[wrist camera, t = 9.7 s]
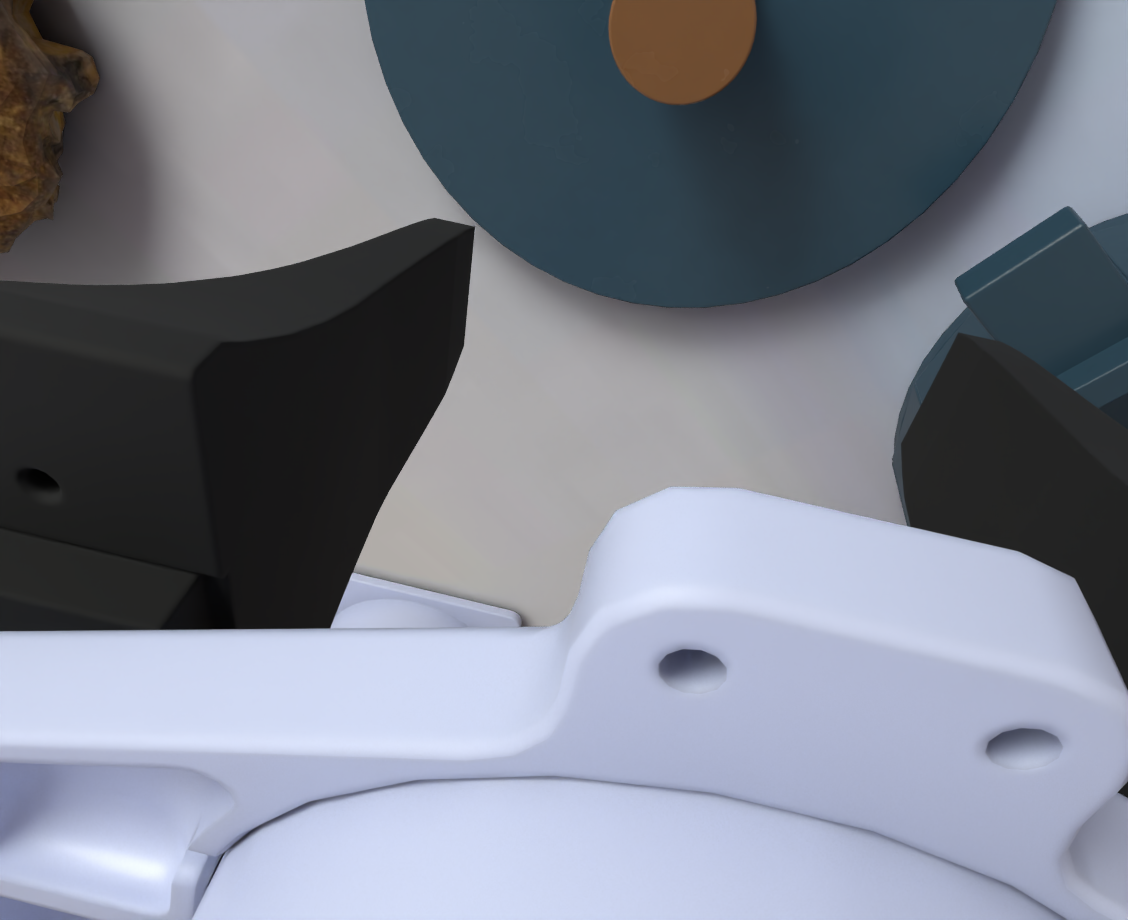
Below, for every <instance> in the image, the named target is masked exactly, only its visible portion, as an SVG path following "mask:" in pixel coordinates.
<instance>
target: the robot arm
mask: <svg viewBox="0 0 1128 920" xmlns="http://www.w3.org/2000/svg"><path fill="white" fill-rule="evenodd" d="M474 230H475V227H473V226H469V225H464V224H460V223H455V222H451V221H446V220H441V219H437V218H433V219H427V220H423V221H420V222H417V223H414V224H411V225H408V226H406V227H403V228H400V229H397V230H395V231H392V232H390V233H387V234H384V235H381V236H379V237H376V238H373V239H371V240H368V241H365V242H363V243H360V244H357V245H354V246H352V247H348V248H345V249H342V250H339V251H336V252H332V253H329V254H326V255H323V256H320V257H316V258H313V259H310V260H307V261H304V262H300V263H296V264H292V265H288V266H284V267H280V268H275V269H271V270H265V271H260V272H255V273H250V274H245V275H239V276H232V277H224V278H214V279H205V280H196V281H187V282H178V283H165V284H143V285H68V284H51V283H34V282H16V281H0V920H1128V429H1126V428H1125V427H1123V426H1122V425H1121V424H1119V423H1118V422H1116V421H1115V420H1114V419H1112V418H1111V417H1109V416H1108V415H1107V414H1105V413H1104V412H1103V411H1101V410H1100V409H1098V408H1097V407H1096V406H1094V405H1093V404H1092V403H1090V402H1089V401H1088V400H1086V399H1085V398H1084V397H1082V396H1081V395H1080V394H1078V393H1077V392H1076V391H1074V390H1073V389H1072V388H1070V387H1069V386H1068V385H1066V384H1065V383H1064V382H1062V381H1061V380H1059V379H1058V378H1057V377H1055V376H1054V375H1053V374H1051V373H1050V372H1049V371H1047V370H1046V369H1045V368H1043V367H1042V366H1040V365H1039V364H1038V363H1036V362H1035V361H1033V360H1032V359H1030V358H1029V357H1027V356H1026V355H1024V354H1023V353H1021V352H1019V351H1018V350H1016V349H1014V348H1013V347H1011V346H1009V345H1007V344H1005V343H1003V342H1000V341H996V340H991V339H987V338H982V337H978V336H973V335H968V334H964V333H959V332H958V334H957V336H956V338H955V340H954V342H953V344H952V346H951V348H950V350H949V352H948V353H947V355H946V357H945V359H944V361H943V363H942V365H941V367H940V369H939V371H938V373H937V375H936V377H935V379H934V381H933V383H932V384H931V386H930V388H929V390H928V392H927V394H926V396H925V398H924V400H923V402H922V404H921V406H920V408H919V410H918V412H917V414H916V415H915V417H914V419H913V421H912V423H911V425H910V427H909V429H908V431H907V433H906V435H905V437H904V439H903V441H902V443H901V460H902V479H903V491H904V500H905V504H906V509H907V513H908V517H909V522H910V526H911V527H908V526H904V525H899V524H895V523H891V522H886V521H882V520H877V519H873V518H869V517H864V516H860V515H855V514H851V513H846V512H842V511H838V510H833V509H829V508H824V507H820V506H816V505H811V504H807V503H802V502H798V501H794V500H789V499H785V498H780V497H776V496H771V495H767V494H763V493H758V492H754V491H749V490H745V489H741V488H717V487H669V488H666V489H664V490H662V491H659V492H657V493H655V494H653V495H650V496H648V497H646V498H643V499H641V500H639V501H637V502H634V503H632V504H630V505H627V506H625V507H623V508H621V509H618V510H616V511H615V513H614V514H613V516H612V517H611V519H610V520H609V522H608V523H607V525H606V526H605V528H604V529H603V531H602V532H601V534H600V535H599V537H598V538H597V540H596V541H595V542H594V544H593V545H592V547H591V548H590V550H589V554H588V558H587V562H586V566H585V570H584V574H583V578H582V582H581V586H580V590H579V595H578V597H577V599H576V601H575V604H574V606H573V608H572V610H571V612H570V614H569V615H568V616H567V617H566V618H565V619H564V620H563V621H562V622H561V623H558V624H555V625H553V626H550V627H521V623H522V620H521V617H520V616H519V615H518V614H517V613H516V612H514V611H511V610H507V609H503V608H499V607H495V606H491V605H487V604H482V603H478V602H474V601H470V600H466V599H461V598H457V597H453V596H449V595H445V594H440V593H436V592H432V591H428V590H424V589H420V588H415V587H411V586H407V585H403V584H399V583H394V582H390V581H386V580H382V579H378V578H373V577H369V576H365V575H361V574H357V573H353V570H354V568H355V565H356V563H357V560H358V558H359V556H360V553H361V551H362V549H363V546H364V544H365V542H366V539H367V537H368V534H369V532H370V530H371V527H372V525H373V523H374V520H375V518H376V516H377V513H378V512H379V510H380V508H381V506H382V504H383V502H384V500H385V498H386V496H387V494H388V492H389V490H390V489H391V487H392V485H393V483H394V482H395V480H396V478H397V477H398V475H399V473H400V471H401V470H402V468H403V466H404V465H405V463H406V461H407V460H408V458H409V456H410V454H411V453H412V451H413V449H414V448H415V446H416V444H417V442H418V441H419V439H420V437H421V436H422V434H423V432H424V430H425V429H426V427H427V425H428V424H429V422H430V420H431V418H432V417H433V415H434V413H435V411H436V410H437V408H438V406H439V404H440V403H441V401H442V399H443V397H444V395H445V393H446V391H447V388H448V386H449V383H450V381H451V378H452V376H453V373H454V371H455V368H456V365H457V363H458V360H459V357H460V355H461V352H462V349H463V347H464V338H465V327H466V316H467V306H468V295H469V284H470V273H471V263H472V252H473V241H474Z"/></svg>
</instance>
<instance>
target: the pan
mask: <svg viewBox="0 0 1128 920" xmlns="http://www.w3.org/2000/svg"><path fill="white" fill-rule="evenodd" d="M955 285H956V287H957V289H958V291H959V293H960V295H961V297H962V299H963V302H964V303H965V304H966V305H967V308H966V309H965V310H964V311H963V312H962V313H961V314H960V316H959V317H958V318H957V319H956V320H955V321H954V322H953V323H952V324H951V325H950V326H949V328H948V329H947V330H946V331H945V332H944V333H943V334H942V335H941V337H940V338H939V340H938V341H937V342H936V344H935V345H934V347H933V348H932V349H931V351H930V352H929V354H928V355H927V356H926V358H925V359H924V361H923V362H922V364H921V366H920V368H919V370H918V372H917V374H916V375H915V377H914V379H913V381H912V383H911V385H910V387H909V389H908V392H907V394H906V397H905V400H904V403H903V405H902V408H901V411H900V414H899V419H898V424H897V429H896V434H895V443H894V455H893V458H892V460H893V462H892V466H893V470H894V474H895V478H896V482H897V486H898V490H899V494H900V499H901V503H902V507H903V511H904V515H905V519H906V523H907V526H908V527H911V526H910V522H909V517H908V513H907V509H906V504H905V500H904V491H903V479H902V460H901V443H902V441H903V439H904V437H905V435H906V433H907V431H908V429H909V427H910V425H911V423H912V421H913V419H914V417H915V415H916V414H917V412H918V410H919V408H920V406H921V404H922V402H923V400H924V398H925V396H926V394H927V392H928V390H929V388H930V386H931V384H932V383H933V381H934V379H935V377H936V375H937V373H938V371H939V369H940V367H941V365H942V363H943V361H944V359H945V357H946V355H947V353H948V352H949V350H950V348H951V346H952V344H953V342H954V340H955V338H956V336H957V334H958V332H959V333H964V334H968V335H973V336H978V337H982V338H987V339H991V340H996V341H1000V342H1003V343H1005V344H1007V345H1009V346H1011V347H1013V348H1014V349H1016V350H1018V351H1019V352H1021V353H1023V354H1024V355H1026V356H1027V357H1029V358H1030V359H1032V360H1033V361H1035V362H1036V363H1038V364H1039V365H1040V366H1042V367H1043V368H1045V369H1046V370H1047V371H1049V372H1050V373H1051V374H1053V375H1054V376H1055V377H1057V378H1058V379H1059V380H1061V381H1062V382H1064V383H1065V384H1066V385H1068V386H1069V387H1070V388H1072V389H1073V390H1074V391H1076V392H1077V393H1078V394H1080V395H1081V396H1082V397H1084V398H1085V399H1086V400H1088V401H1089V402H1090V403H1092V404H1093V405H1094V406H1096V407H1097V408H1098V409H1100V410H1101V411H1103V412H1104V413H1105V414H1107V415H1108V416H1109V417H1111V418H1112V419H1114V420H1115V421H1116V422H1118V423H1119V424H1121V425H1122V426H1123V427H1125V428H1126V429H1128V214H1125V215H1122V216H1119V217H1116V218H1113V219H1110V220H1107V221H1104V222H1102V223H1100V224H1097V225H1095V226H1093V227H1091V228H1088V226H1087V225H1086V224H1085V222H1084V221H1083V220H1082V219H1081V218H1080V217H1079V216H1078V214H1077V213H1076V212H1075V211H1074V210H1073V209H1072V208H1071V207H1069V206H1067V207H1064V208H1063V209H1061V210H1060V211H1058V212H1057V213H1055V214H1054V215H1052V216H1051V217H1049V218H1047V219H1046V220H1044V221H1043V222H1041V223H1040V224H1038V225H1037V226H1035V227H1034V228H1032V229H1031V230H1029V231H1028V232H1026V233H1025V234H1023V235H1022V236H1020V237H1018V238H1017V239H1015V240H1014V241H1012V242H1011V243H1009V244H1008V245H1006V246H1005V247H1003V248H1002V249H1000V250H999V251H997V252H996V253H994V254H993V255H991V256H990V257H988V258H986V259H985V260H983V261H982V262H980V263H979V264H977V265H976V266H974V267H973V268H971V269H970V270H968V271H967V272H965V273H964V274H962V275H961V276H959V277H957V278H956V279H955Z"/></svg>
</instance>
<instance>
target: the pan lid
mask: <svg viewBox="0 0 1128 920" xmlns="http://www.w3.org/2000/svg"><path fill="white" fill-rule="evenodd" d="M1056 3H1057V0H365V5H366V10H367V15H368V20H369V26H370V31H371V36H372V40H373V43H374V47H375V50H376V53H377V56H378V60H379V63H380V66H381V69H382V73H383V76H384V79H385V82H386V85H387V87H388V89H389V92H390V94H391V96H392V98H393V101H394V103H395V105H396V108H397V110H398V112H399V115H400V117H401V119H402V122H403V124H404V125H405V127H406V129H407V131H408V132H409V134H410V136H411V138H412V139H413V141H414V143H415V145H416V146H417V148H418V150H419V152H420V153H421V155H422V157H423V159H424V160H425V161H426V163H427V164H428V166H429V167H430V168H431V170H432V171H433V172H434V174H435V175H436V176H437V178H438V179H439V181H440V182H441V183H442V185H443V186H444V187H445V189H446V190H447V192H448V193H449V194H450V195H451V196H452V197H453V198H454V199H455V200H456V201H457V202H458V204H459V205H460V206H461V207H462V208H463V209H464V210H465V211H466V212H467V213H468V214H469V216H470V217H471V218H472V219H473V220H474V221H475V222H477V223H478V224H479V225H480V226H481V227H482V228H483V229H485V230H486V231H487V232H488V233H489V234H490V235H492V236H493V237H494V238H495V239H496V240H497V241H498V242H500V243H501V244H502V245H503V246H505V247H506V248H508V249H509V250H511V251H512V252H514V253H515V254H517V255H518V256H520V257H521V258H523V259H524V260H525V261H527V262H528V263H530V264H531V265H533V266H535V267H537V268H539V269H541V270H543V271H544V272H546V273H548V274H550V275H552V276H554V277H556V278H558V279H560V280H562V281H564V282H566V283H569V284H571V285H574V286H577V287H579V288H582V289H585V290H587V291H590V292H593V293H595V294H598V295H602V296H606V297H610V298H614V299H618V300H622V301H626V302H630V303H636V304H644V305H652V306H660V307H668V308H706V307H715V306H724V305H733V304H742V303H746V302H750V301H755V300H759V299H763V298H768V297H772V296H776V295H780V294H783V293H786V292H788V291H791V290H794V289H797V288H800V287H802V286H805V285H808V284H811V283H814V282H816V281H818V280H820V279H822V278H824V277H826V276H828V275H831V274H833V273H835V272H837V271H839V270H841V269H843V268H845V267H847V266H849V265H851V264H853V263H854V262H856V261H858V260H859V259H861V258H862V257H864V256H866V255H867V254H869V253H870V252H872V251H873V250H875V249H877V248H878V247H880V246H881V245H883V244H884V243H886V242H888V241H889V240H890V239H891V238H893V237H894V236H895V235H896V234H898V233H899V232H900V231H901V230H903V229H904V228H905V227H906V226H908V225H909V224H910V223H911V222H913V221H914V220H915V219H916V218H918V217H919V216H920V215H921V214H923V213H924V212H925V211H926V210H927V209H928V208H929V207H930V206H931V205H932V204H933V203H934V202H935V201H936V200H937V199H938V198H939V197H940V196H941V195H942V194H943V193H944V192H945V191H946V190H947V189H948V188H949V187H950V186H951V185H952V184H953V183H954V182H955V181H956V180H957V179H958V177H959V176H960V175H961V174H962V173H963V171H964V170H965V169H966V168H967V166H968V165H969V164H970V163H971V161H972V160H973V159H974V158H975V156H976V155H977V154H978V153H979V151H980V150H981V149H982V148H983V147H984V145H985V144H986V143H987V141H988V140H989V138H990V137H991V135H992V134H993V132H994V131H995V129H996V127H997V126H998V124H999V123H1000V121H1001V120H1002V118H1003V117H1004V115H1005V113H1006V112H1007V110H1008V109H1009V107H1010V106H1011V104H1012V103H1013V101H1014V99H1015V97H1016V95H1017V93H1018V91H1019V89H1020V87H1021V85H1022V83H1023V81H1024V79H1025V77H1026V75H1027V73H1028V71H1029V69H1030V67H1031V66H1032V64H1033V62H1034V60H1035V58H1036V56H1037V54H1038V51H1039V49H1040V46H1041V43H1042V40H1043V38H1044V35H1045V32H1046V30H1047V27H1048V24H1049V21H1050V19H1051V16H1052V13H1053V11H1054V8H1055V5H1056Z"/></svg>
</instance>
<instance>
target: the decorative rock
mask: <svg viewBox="0 0 1128 920" xmlns="http://www.w3.org/2000/svg"><path fill="white" fill-rule="evenodd" d="M32 3H33V0H0V253H5V252H9V250H10V248H11V246H12V245H13V243H14V241H15V239H16V238H17V237H18V236H19V235H20V234H21V233H22V232H23V231H24V230H25V229H26V228H28V227H29V226H30V225H31V224H32V223H33V222H34V221H36V220H42V219H47V218H48V219H51V220H53V212H54V203H55V202H57V198H58V193H59V187H60V186H59V185H58V183H59V181H60V179H61V177H62V175H63V173H62V171H61V169H60V167H59V164H58V162H57V160H58V158H59V157H60V155H61V154H62V152H63V138H62V131H63V129H64V126H65V123H66V122H65V119H64V115H63V112H68V113H70V112H71V111H72V110H73V108H74V107H75V106H76V105H77V104H78V103H79V102H80V101H82V100H84V99H86V98H87V97H89V96H91V95H93V94H94V92H95V90H96V87H97V84H98V82H99V79H100V77H99V75H98V72H97V69H96V66H95V63H94V60H93V57H92V56H90V55H89V54H87V53H86V52H84V51H82V50H80V49H76V48H73V47H69V46H65V45H62V44H58V43H55V42H51V41H48V40H44V39H42V37H41V35H40V33H39V31H38V29H37V27H36V25H35V23H34V21H33V19H32V17H31V15H30V13H29V11H30V8H31V5H32Z"/></svg>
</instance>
